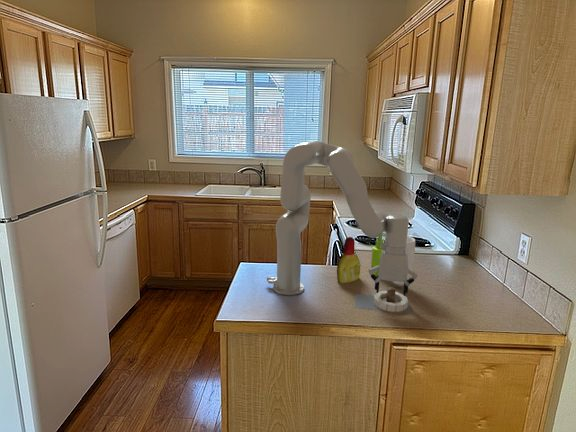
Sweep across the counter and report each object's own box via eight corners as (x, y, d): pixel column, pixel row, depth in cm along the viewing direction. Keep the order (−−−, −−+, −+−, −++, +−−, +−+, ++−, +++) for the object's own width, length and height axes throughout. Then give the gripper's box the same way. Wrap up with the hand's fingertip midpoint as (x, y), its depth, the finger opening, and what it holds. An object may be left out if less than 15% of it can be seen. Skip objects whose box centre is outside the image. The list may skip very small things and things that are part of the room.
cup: (393, 295, 159) (398, 243, 153) (380, 284, 168) (384, 235, 163) (416, 292, 161) (421, 241, 156) (402, 282, 171) (407, 234, 166)
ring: (374, 309, 145) (374, 303, 144) (373, 295, 156) (374, 289, 155) (408, 313, 142) (409, 306, 142) (405, 298, 154) (406, 292, 153)
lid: (381, 307, 147) (382, 291, 145) (381, 299, 153) (382, 284, 151) (399, 308, 146) (401, 293, 144) (398, 300, 152) (399, 286, 150)
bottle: (341, 287, 165) (344, 241, 160) (331, 282, 170) (333, 237, 165) (362, 281, 171) (365, 236, 166) (352, 276, 176) (355, 233, 171)
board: (354, 310, 146) (354, 307, 146) (355, 295, 158) (355, 293, 157) (411, 316, 142) (411, 313, 142) (408, 301, 154) (408, 298, 154)
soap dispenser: (380, 280, 172) (383, 236, 167) (367, 275, 178) (370, 232, 172) (388, 277, 176) (392, 233, 171) (376, 272, 181) (379, 230, 176)
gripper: (370, 250, 142) (366, 294, 146) (421, 255, 139) (415, 300, 143) (370, 243, 149) (367, 286, 153) (418, 248, 146) (413, 291, 150)
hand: (390, 292), depth 148 cm, fingers open, 9 cm apart
